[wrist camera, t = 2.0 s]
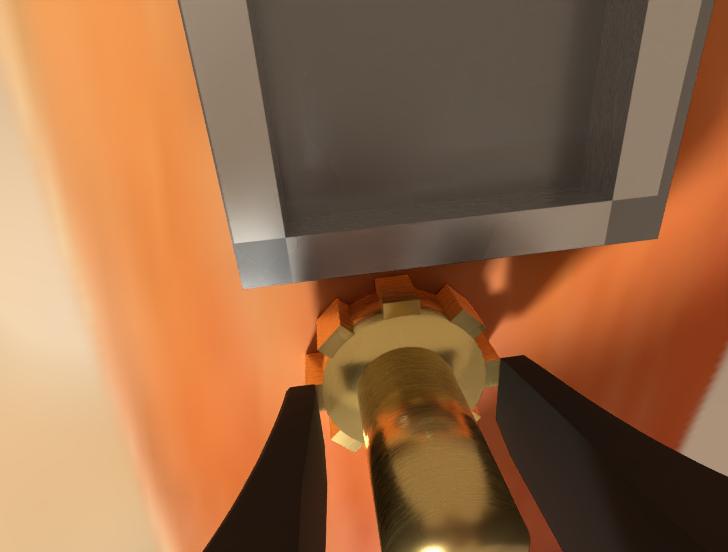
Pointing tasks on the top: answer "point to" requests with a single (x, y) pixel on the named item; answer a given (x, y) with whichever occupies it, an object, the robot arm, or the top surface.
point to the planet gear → (417, 416)
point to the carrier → (439, 126)
